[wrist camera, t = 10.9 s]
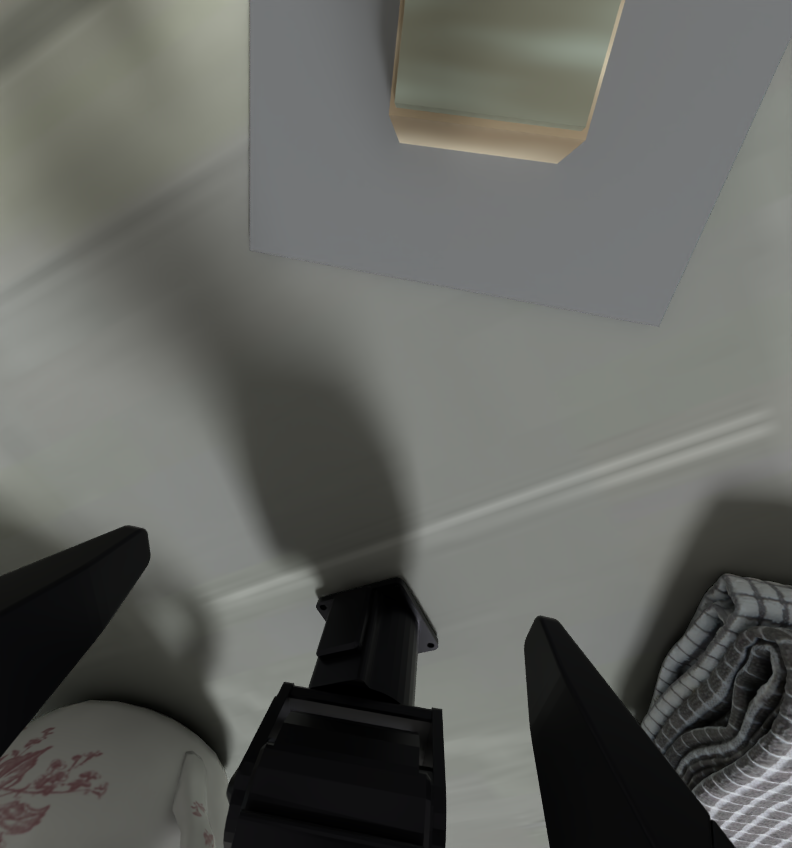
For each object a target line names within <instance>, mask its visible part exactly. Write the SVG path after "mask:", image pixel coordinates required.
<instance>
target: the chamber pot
mask: <svg viewBox="0 0 792 848" xmlns="http://www.w3.org/2000/svg"><path fill="white" fill-rule="evenodd" d="M227 787H228V780H227V776H226V772H225V769H224V767H223V765H222V763H221V762H220V760H219V758H218V756H217V754H216V753H215V752H214V751H213V750H212V749H211V748H210V747H209V746H208V745H207V744H206V743H205V742H204V741H203V740H202V739H201V738H200V737H199V736H197V735H196V734H195V733H194V732H193V731H192V730H190V729H189V728H187V727H186V726H184V725H183V724H181V723H180V722H178V721H177V720H175V719H173V718H171V717H169V716H167V715H164V714H162V713H160V712H157V711H155V710H153V709H149V708H145V707H141V706H137V705H133V704H128V703H123V702H117V701H99V700H88V701H84V702H79V703H75V704H70V705H67V706H64V707H61V708H58V709H55V710H53V711H51V712H49V713H47V714H45V715H44V716H42V717H40V718H38V719H36V720H34V721H32V722H30V723H29V724H27V726H26V727H25V728H24V729H23V731H22V732H21V733H20V734H19V736H18V737H17V738H16V739H15V740H14V742H13V743H12V744H11V745H10V747H9V748H8V749H7V750H6V752H5V753H4V754H3V755H2V756H1V758H0V848H224V845H223V838H224V829H225V823H226V818H227V814H228V809H229V802H228V799H227V796H226V791H227Z"/></svg>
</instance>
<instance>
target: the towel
mask: <svg viewBox="0 0 792 848" xmlns="http://www.w3.org/2000/svg"><path fill="white" fill-rule="evenodd" d="M641 727H642V728H643V730H644V731H645V732H646V733H647V735H648V736H649V737H650V739H651V740H652V741H653V742H654V744H655V745H656V746H657V747H658V749H659V750H660V751H661V753H662V754H663V755H664V756H665V758H666V759H667V760H668V762H669V763H670V764H671V765H672V767H673V768H674V769H675V770H676V772H677V773H678V774H679V776H680V777H681V778H682V779H683V781H684V782H685V783H686V785H687V786H688V787H689V788H690V790H691V791H692V792H693V794H694V795H695V796H696V797H697V799H698V800H699V801H700V802H701V804H702V805H703V806H704V808H705V809H706V810H707V811H708V813H709V814H710V818H711V820H714V821H715V822H716V823H717V824H718V825H719V826H720V828H721V829H722V830H723V832H724V833H725V834H726V835H727V837H728V838H729V839H730V841H731V842H732V843H733V844H734V846H735V847H736V848H792V586H791V585H783V584H780V583H776V582H771V581H761V580H759V579H755V578H750V577H740V576H736V575H732V574H723V575H722V576H721V577H719V579H718V580H717V582H716V583H714V584H713V586H712V587H710V588H709V589H708V591H707V592H706V593H705V594H704V596H703V598H702V600H701V603H700V604H699V606H698V608H697V610H696V613H695V614H694V616H693V618H692V620H691V622H690V624H689V626H688V628H687V630H686V632H685V634H684V635H683V636H682V637H681V639H680V640H679V641H678V642H677V643H675V645H674V646H673V647H672V648H671V650H670V651H669V652H668V654H667V656H666V658H665V659H664V661H663V663H662V666H661V669H660V672H659V675H658V680H657V683H656V686H655V691H654V695H653V698H652V702H651V704H650V707H649V710H648V713H647V715H646V716H645V717H644V719H643V721H642V723H641Z"/></svg>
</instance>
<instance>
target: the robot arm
mask: <svg viewBox="0 0 792 848" xmlns="http://www.w3.org/2000/svg"><path fill="white" fill-rule="evenodd" d="M149 560H150V547H149V540H148V533H147V531H146V530H145V529H143V528H140V527H135V526H130V525H127V526H123V527H121V528H118V529H116V530H113V531H111V532H108V533H106V534H103V535H101V536H98V537H96V538H93V539H91V540H88V541H86V542H83V543H81V544H79V545H76V546H74V547H71V548H69V549H66V550H64V551H61V552H59V553H56V554H54V555H51V556H49V557H46V558H44V559H41V560H39V561H36V562H34V563H32V564H29V565H27V566H24V567H22V568H19V569H17V570H14V571H12V572H9V573H7V574H4V575H2V576H0V758H1V756H2V755H3V754H4V753H5V752H6V750H7V749H8V748H9V747H10V745H11V744H12V743H13V742H14V740H15V739H16V738H17V737H18V736H19V734H20V733H21V732H22V731H23V729H24V728H25V727H26V726H27V724H28V723H29V722H30V721H31V719H32V718H33V717H34V716H35V715H36V713H37V712H38V711H39V710H40V708H41V707H42V706H43V705H44V703H45V702H46V701H47V700H48V698H49V697H50V696H51V695H52V694H53V692H54V691H55V690H56V689H57V687H58V686H59V685H60V684H61V682H62V681H63V680H64V679H65V677H66V676H67V675H68V674H69V673H70V671H71V670H72V669H73V668H74V666H75V665H76V664H77V663H78V661H79V660H80V659H81V658H82V656H83V655H84V654H85V653H86V652H87V650H88V649H89V648H90V647H91V645H92V644H93V643H94V642H95V640H96V639H97V638H98V637H99V635H100V634H101V633H102V631H103V630H104V629H105V627H106V626H107V625H108V623H109V622H110V620H111V619H112V617H113V616H114V614H115V613H116V611H117V610H118V609H119V607H120V606H121V604H122V603H123V601H124V600H125V598H126V597H127V595H128V594H129V592H130V591H131V589H132V588H133V586H134V585H135V583H136V582H137V580H138V579H139V577H140V576H141V574H142V573H143V571H144V570H145V568H146V567H147V565H148V563H149ZM396 586H399V587H396ZM316 608H317V610H318V611H319V613H320V614H321V615H322V617H323V618H324V619H325V621H326V624H325V627H324V630H323V633H322V636H321V639H320V642H319V646H318V649H317V652H316V655H317V656H318V659H317V662H316V665H315V668H314V671H313V675H312V678H311V681H310V684H309V687H308V688H306V687H300V686H294V683H289V682H284V683H283V685H282V687H281V689H280V691H279V693H278V695H277V696H275V697H274V699H273V701H272V703H271V705H270V707H269V709H268V711H267V713H266V715H265V717H264V719H263V721H262V723H261V725H260V727H259V728H258V730H257V732H256V734H255V736H254V738H253V740H252V742H251V744H250V746H249V748H248V750H247V752H246V754H245V756H244V758H243V760H242V762H241V764H240V766H239V767H238V769H237V770H236V772H235V773H234V775H233V776H232V778H231V779H230V782H229V784H228V787H227V791H226V796H227V799H228V802H229V809H228V814H227V818H226V823H225V829H224V838H223V845H224V848H445V842H446V781H445V760H444V740H443V719H442V709H438V708H432V709H426V708H420V707H414V701H415V686H416V671H417V656H418V653H422V652H427V651H432V650H435V649H437V648H438V638H437V637H436V635H435V633H434V632H433V630H432V628H431V627H430V625H429V623H428V622H427V620H426V618H425V616H424V615H423V613H422V611H421V610H420V608H419V606H418V605H417V603H416V601H415V600H414V598H413V596H412V595H411V593H410V591H409V589H408V588H407V586H406V584H405V583H404V581H403V580H401V579H400V578H393V579H389V580H385V581H381V582H378V583H374V584H370V585H366V586H363V587H359V588H355V589H351V590H348V591H344V592H340V593H336V594H333V595H329V596H325V597H322V598H319V600H318V602H317V605H316ZM524 655H525V668H526V682H527V696H528V710H529V722H530V731H531V738H532V745H533V751H534V757H535V763H536V769H537V774H538V780H539V786H540V792H541V798H542V804H543V810H544V816H545V822H546V828H547V834H548V840H549V846H550V848H736V847H735V846H734V844H733V843H732V842H731V841H730V839H729V838H728V837H727V835H726V834H725V833H724V832H723V830H722V829H721V828H720V826H719V825H718V824H717V823H716V822H715V821H714V820H711V818H710V814H709V813H708V811H707V810H706V809H705V808H704V806H703V805H702V804H701V802H700V801H699V800H698V799H697V797H696V796H695V795H694V794H693V792H692V791H691V790H690V788H689V787H688V786H687V785H686V783H685V782H684V781H683V779H682V778H681V777H680V776H679V774H678V773H677V772H676V770H675V769H674V768H673V767H672V765H671V764H670V763H669V762H668V760H667V759H666V758H665V756H664V755H663V754H662V753H661V751H660V750H659V749H658V747H657V746H656V745H655V744H654V742H653V741H652V740H651V739H650V737H649V736H648V735H647V733H646V732H645V731H644V730H643V728H642V727H641V726H640V724H639V723H638V722H637V721H636V719H635V718H634V717H633V716H632V714H631V713H630V712H629V710H628V709H627V708H626V707H625V705H624V704H623V703H622V701H621V700H620V699H619V698H618V696H617V695H616V694H615V693H614V691H613V690H612V689H611V687H610V686H609V685H608V684H607V682H606V681H605V680H604V678H603V677H602V676H601V675H600V673H599V672H598V671H597V670H596V668H595V667H594V666H593V664H592V663H591V662H590V661H589V659H588V658H587V657H586V655H585V654H584V653H583V652H582V650H581V649H580V648H579V647H578V645H577V644H576V643H575V641H574V640H573V639H572V638H571V636H570V635H569V634H568V632H567V631H566V630H565V629H564V627H563V626H562V625H561V624H560V622H559V621H557V620H556V619H554V618H549V617H545V616H537V617H536V618H535V620H534V622H533V624H532V626H531V629H530V631H529V633H528V635H527V637H526V640H525V645H524Z"/></svg>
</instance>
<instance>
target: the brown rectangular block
mask: <svg viewBox="0 0 792 848" xmlns="http://www.w3.org/2000/svg"><path fill="white" fill-rule="evenodd" d="M624 3H625V0H400V8H399V18H398V28H397V38H396V48H395V58H394V68H393V78H392V88H391V98H390V108H389V117H390V119H391V122H392V124H393V127H394V130H395V132H396V135H397V137H398V140H399V143H404V144H412V145H419V146H427V147H434V148H442V149H449V150H457V151H464V152H472V153H479V154H487V155H494V156H502V157H509V158H517V159H525V160H532V161H540V162H547V163H555V164H558V163H559V162H560V161H561V160H562V159H564V158H565V157H566V156H567V155H568V154H570V153H571V152H572V151H573V150H574V149H576V148H577V147H578V146H579V145H580V144H582V143H583V142H584V141H585V140H586V137H587V134H588V130H589V127H590V123H591V119H592V116H593V112H594V109H595V105H596V102H597V98H598V95H599V91H600V88H601V84H602V81H603V77H604V74H605V70H606V66H607V63H608V59H609V56H610V52H611V49H612V45H613V42H614V38H615V35H616V31H617V28H618V24H619V21H620V17H621V13H622V10H623V6H624Z"/></svg>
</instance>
